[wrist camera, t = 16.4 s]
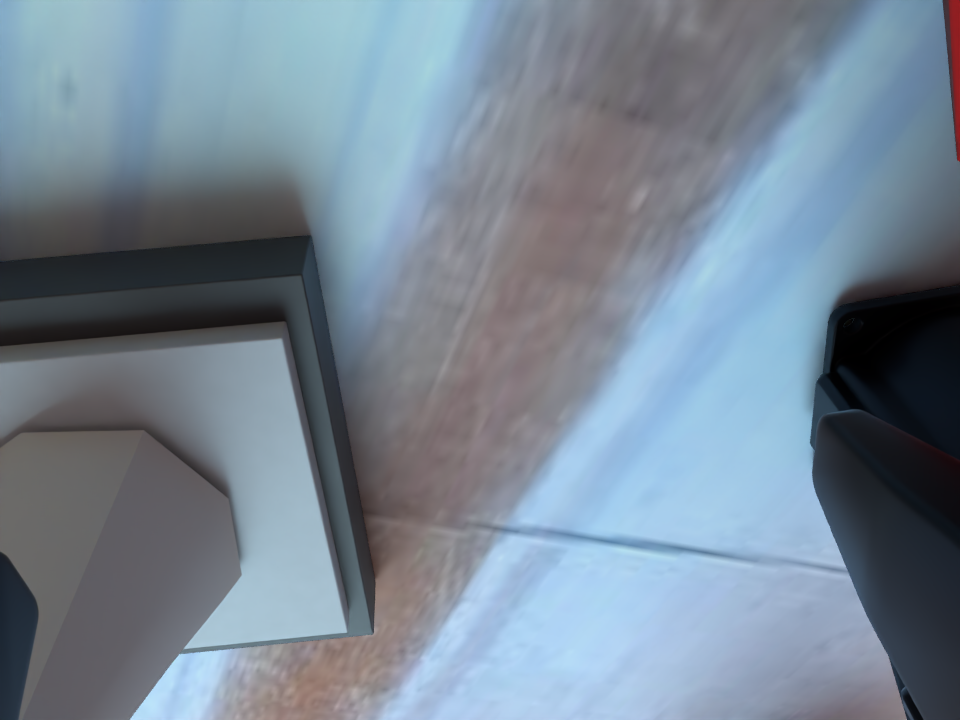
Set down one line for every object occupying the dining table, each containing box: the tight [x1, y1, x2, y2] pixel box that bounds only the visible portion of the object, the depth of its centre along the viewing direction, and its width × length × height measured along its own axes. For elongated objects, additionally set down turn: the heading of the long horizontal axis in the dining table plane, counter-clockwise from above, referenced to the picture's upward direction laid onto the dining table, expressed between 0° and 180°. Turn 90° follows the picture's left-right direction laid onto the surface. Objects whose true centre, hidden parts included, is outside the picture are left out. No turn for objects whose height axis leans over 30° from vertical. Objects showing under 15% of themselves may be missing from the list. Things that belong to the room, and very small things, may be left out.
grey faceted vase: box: [0, 430, 242, 720], centre depth 18 cm, size 7×7×10 cm
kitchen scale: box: [0, 236, 376, 654], centre depth 23 cm, size 13×13×3 cm
